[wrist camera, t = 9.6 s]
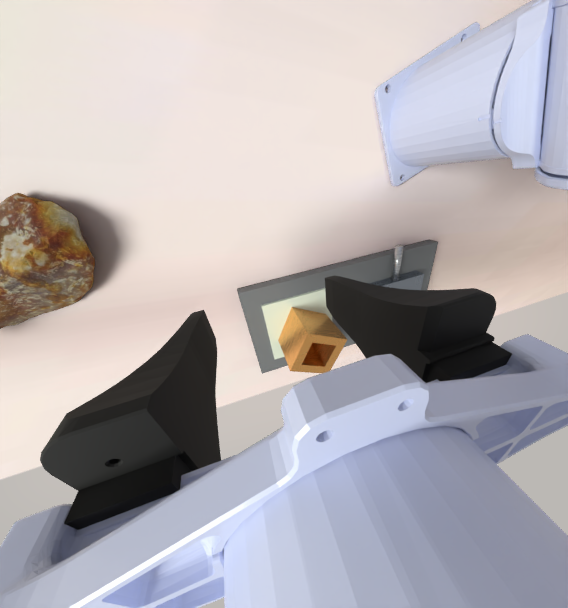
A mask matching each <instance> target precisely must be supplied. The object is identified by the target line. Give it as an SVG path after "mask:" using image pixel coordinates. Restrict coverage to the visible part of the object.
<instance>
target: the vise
mask: <svg viewBox="0 0 568 608" xmlns="http://www.w3.org/2000/svg"><path fill="white" fill-rule="evenodd" d="M403 247H404V246H403V245H396V246H395V253H394V261H393V269H392V276H391V277H390V278H386V279H383V280H379V281H376V282H372V283H369V284H373V285H378V286H383V287H390V288H398V289H409V290H421V287H422V282H423V277H424V274H423V273H421V272H418V271H416V270H415V271H412V272H408V273H404V274H401V275H399V274H400V267H401V261H402V254H403Z"/></svg>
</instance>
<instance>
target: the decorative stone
mask: <svg viewBox="0 0 568 608" xmlns="http://www.w3.org/2000/svg"><path fill="white" fill-rule="evenodd" d="M94 266H95V259H94V257H93V256H92V253H91V252H90V250H89V248H88V246H87V244H86V242H85V240H84V239H83V237H82V234H81V231H80V228H79V223H78V219H77V218H76V217H75V216H74V215H73V214H72V213H70V212H68V211H67V210H65V209H64V208H62V207H61V206H59V205H57V204H56V203H54V202H52V201H42V200H39V199H36V198H32V197H31V198H29V197H27V196H26V195H24V194H21V193H16V194H14V195H12V196H10V197H8V198H6V199H5V200H4V201H3V202H1V203H0V329H1V328H3V327H5V326H10V325H16V324H19V323H21V322H24V321H25V320H27V319H29V318H31V317H35V316H37V315H40V314H42V313H47V312H51V311H54V310H57V309H60V308H63V307H66V306H69V305H71V304H73V303H75V302H77V301H79V300H80V299H81V298H82V296H84V295H85V293H86V292H87V291H88V290H90V289H91V287H92V285H93V280H94V279H93V271H94Z"/></svg>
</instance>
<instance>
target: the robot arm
mask: <svg viewBox="0 0 568 608" xmlns="http://www.w3.org/2000/svg"><path fill="white" fill-rule="evenodd" d="M461 38H462V42H461ZM386 87H387V88H388V91H387V93H386V91H385V88H386ZM375 101H376V107H377V112H378V117H379V122H380V128H381V133H382V138H383V143H384V148H385V154H386V159H387V164H388V169H389V175H390V180H391V184H392V185H393V186H398V185H400V184H402V183H403V182H405V181H406V180H408V179H409V178H411V177H413V176H414V175H416V174H417V173H419V172H420V171H422V170H423V169H425V168H427V167H428V166H430V165H439V164H450V163H461V162H472V161H483V160H493V159H504V158H511V160H512V164H513V169H523V168H535V174H534V175H535V178H536V180H537V181H538V182H539V183H540V184H542V185H544V186H547V187H551V188H555V189H563V190H568V0H532V1H530V2H528V3H527V4H525V5H523V6H522V7H520V8H518V9H516V10H515V11H513V12H511V13H510V14H508V15H506V16H505V17H503V18H501V19H499V20H498V21H496V22H494V23H493V24H491V25H489V26H487V27H486V28H484V29H482V30H481V31H480V25H479V23H478V22H475V23H473V24H472V25H470V26H469V27H467V28H466V29H464V30H463V31H461V32H460V33H458V34H457V35H455V36H454V37H452V38H451V39H449V40H448V41H446V42H445V43H443V44H441V45H440V46H438V47H437V48H435V49H434V50H432V51H431V52H429V53H428V54H426V55H425V56H423V57H422V58H420V59H419V60H417V61H416V62H414V63H413V64H411V65H410V66H408V67H407V68H405V69H404V70H402V71H401V72H399V73H398V74H396V75H395V76H393V77H392V78H390V79H389V80H387V81H386V82H384V83H383V84H381V85H380V86H378V87H377V88H376V90H375ZM401 176H402V178H401V180H400V177H401ZM325 292H326V307H327V308H328V310H329V312H330V313H331V315H332V316H333V318H334V319H335V320H336V322H337V323H338V324H339V325H340V326H341V327H342V329H343V330H344V331H345V332H346V333H347V334H348V335H349V336H350V338H351V339H352V340H353V341H354V342H355V343H356V345H357V346H358V347H359V348H360V350H361V351H362V353H363V354H364V356H365V357H366V359H363V360H360V361H357V362H354V363H352V364H349V365H346V366H343V367H340V368H337V369H334V370H331V371H328V372H325V373H322V374H319V375H316V376H313V377H310V378H307V379H306V380H304V381H302V382H300V383H298V384H296V385H295V386H293V388H292V389H291V390H290V391H289V392H288V393H287V395H286V396H285V397H284V398H283V401H282V407H281V413H282V416H283V420H284V426H283V427H282V428H280V429H278V430H277V431H275V432H273V433H271V434H270V435H268V436H267V437H265V438H264V439H262V440H260V441H258V442H257V443H255V444H253V445H252V446H250V447H248V448H247V449H245V450H244V451H242V452H241V453H239V454H237V455H234V456H232V457H229V458H226V459H224V460H221V457H220V448H219V438H218V426H217V414H216V398H215V385H216V366H217V346H216V338H215V336H214V333H213V331H212V328H211V326H210V324H209V321H208V319H207V316H206V314H205V312H204V310H202V311H198V312H194V313H192V314H191V315H190V316H189V317H188V318H187V320H186V321H185V322H184V323H183V325H182V326H181V327H180V328H179V329H178V331H177V332H176V333H175V334H174V335H173V336H172V337H171V338H170V340H169V341H168V342H167V343H166V344H165V345H164V346H163V347H162V348H161V349H160V350H159V351H158V352H157V353H156V354H155V355H153V356H152V357H151V358H150V359H149V360H148V361H147V362H145V363H144V364H143V365H142V366H140V367H139V368H138V369H136V370H135V371H134V372H133V373H131V374H130V375H129V376H127V377H126V378H124V379H123V380H122V381H120V382H119V383H117V384H116V385H114V386H113V387H111V388H110V389H108V390H106V391H105V392H103V393H102V394H100V395H98V396H97V397H95V398H93V399H92V400H90V401H88V402H86V403H85V404H83V405H81V406H79V407H78V408H76V409H74V410H72V411H71V412H69V413H67V414H66V416H65V417H64V419H63V420H62V422H61V423H60V425H59V426H58V428H57V429H56V431H55V433H54V434H53V436H52V437H51V439H50V440H49V442H48V443H47V445H46V446H45V448H44V449H43V451H42V452H41V458H40V461H41V463H42V465H43V467H44V469H45V470H46V471H47V472H49V473H50V474H51V475H52V476H54V477H56V478H58V479H59V480H61V481H63V482H64V483H66V484H68V485H69V486H71V487H73V488H74V489H76V490H78V494H77V496H76V498H75V500H74V502H73V504H62V505H58V506H54V507H52V508H49V509H46V510H43V511H41V512H38V513H35V514H33V515H30V516H27V517H24V518H22V519H19V520H18V521H16V522H15V523H14V525H13V526H12V528H11V530H10V531H9V533H8V535H7V536H6V538H5V540H4V541H3V543H2V545H1V546H0V608H199V607H201V606H204V605H207V604H209V603H212V602H214V601H217V600H219V599H222V598H224V601H225V608H568V536H567V535H566V534H565V533H564V532H563V531H562V530H561V529H560V528H559V527H558V526H557V525H556V524H555V523H554V522H553V521H552V520H551V519H550V518H549V517H548V516H547V515H546V513H545V512H544V511H542V510H541V508H540V507H539V506H538V505H536V503H534V501H532V500H531V498H530V497H528V496H527V494H526V493H525V492H524V491H523V490H522V489H521V488H519V486H518V485H516V483H515V482H514V481H513V480H511V478H510V477H509V476H508V475H507V474H506V473H505V472H504V471H503V470H502V469H501V468H499V466H497V464H498V463H500V462H502V461H504V460H505V459H507V458H509V457H511V456H512V455H514V454H516V453H517V452H519V451H521V450H522V449H524V448H526V447H528V446H530V445H531V444H533V443H535V442H537V441H539V440H540V439H542V438H544V437H546V436H548V435H550V434H552V433H554V432H556V431H558V430H560V429H562V428H564V427H566V426H568V353H566V352H564V351H562V350H560V349H558V348H555V347H554V346H552V345H549V344H547V343H545V342H543V341H541V340H539V339H537V338H535V337H533V336H531V335H529V334H527V335H522V336H520V337H517V338H514V339H512V340H509V341H507V342H505V343H503V344H502V345H501V346H498V345H496V344H494V343H493V342H492V341H494V337H493V336H491V335H490V334H488V333H486V331H487V329H488V327H489V325H490V322H491V320H492V318H493V316H494V313H495V310H496V301H495V299H494V297H493V296H492V295H490V294H488V293H486V292H483V291H481V290H478V289H474V288H471V289H456V290H409V289H398V288H390V287H383V286H378V285H373V284H369V283H364V282H360V281H356V280H353V279H349V278H345V277H341V276H330V277H326V278H325Z"/></svg>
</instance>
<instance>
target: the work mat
mask: <svg viewBox="0 0 568 608" xmlns="http://www.w3.org/2000/svg"><path fill="white" fill-rule="evenodd" d="M437 245H438V242H436V241H433V240H427V241H423V242H419V243H415V244H411V245H407V246H404V247H403V254H402V261H401V267H400V274H399V275H401V274H404V273H408V272H412V271H415V270H416V271H418V272H421V273H423V274H424V277H423V282H422V287H421V290H427V288H428V284H429V279H430V275H431V271H432V266H433V262H434V258H435V253H436V249H437ZM394 253H395V249H391V250H387V251H383V252H379V253H376V254H372V255H368V256H364V257H360V258H356V259H352V260H348V261H344V262H340V263H336V264H332V265H329V266H325V267H321V268H317V269H313V270H309V271H305V272H301V273H297V274H293V275H289V276H285V277H282V278H278V279H274V280H270V281H266V282H262V283H258V284H254V285H250V286H246V287H242V288H238V289H237V291H238V295H239V298H240V302H241V305H242V308H243V312H244V315H245V318H246V322H247V325H248V328H249V332H250V335H251V338H252V342H253V345H254V348H255V352H256V355H257V358H258V362H259V365H260V368H261V372H262V373H265V372H268V371H272V370H275V369H278V368H281V367H284V366H287V365H288V364H287V361H286V359H285V356H284V354H283V351H282V349H281V346H280V344H279V341H278V339H279V337H280V334H281V332H282V330H283V327H284V325H285V322H286V320H287V317H288V315H289V312H290V310H291V307H294V308H299V309H304V310H309V311H314V312H319V313H324V314H326V315H327V316H328V317H329V318H330V319H331V321H332V322H333V323H334V324H335V325H336V326H337V328H338V329H339V330H340V331H341V332H342V334H343V335H344V336H345V337H346V338H347V341H346V343H345V345H344V347H346V346H349V345H352V344H355V342H354V341H353V340H352V339H351V338H350V336H349V335H348V334H347V333H346V332H345V331H344V330H343V329H342V327H341V326H340V325H339V324H338V323H337V322H336V320H335V319H334V318H333V316H332V315H331V313H330V312H329V310H328V308H327V307H326V292H325V278H326V277H330V276H341V277H345V278H349V279H353V280H356V281H360V282H364V283H372V282H376V281H379V280H383V279H386V278H390V277H391V276H392V269H393V261H394Z"/></svg>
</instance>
